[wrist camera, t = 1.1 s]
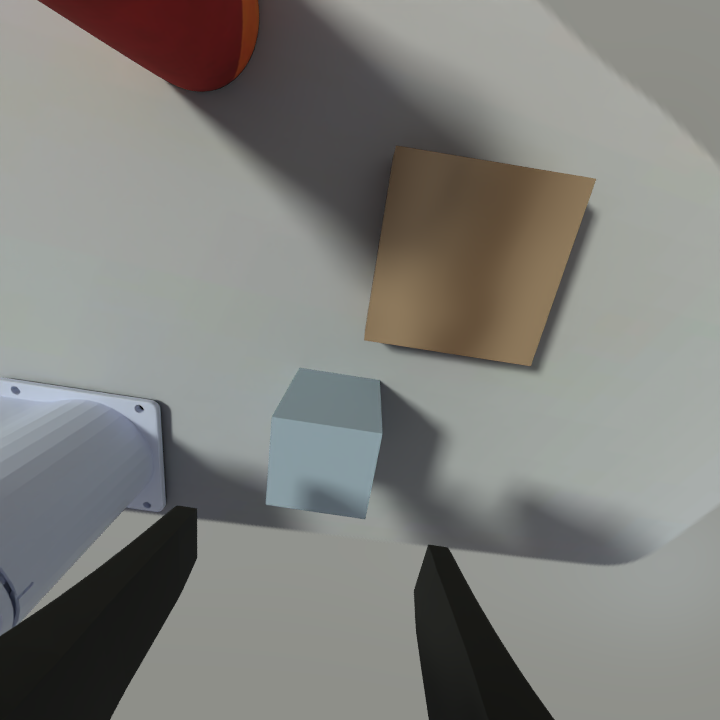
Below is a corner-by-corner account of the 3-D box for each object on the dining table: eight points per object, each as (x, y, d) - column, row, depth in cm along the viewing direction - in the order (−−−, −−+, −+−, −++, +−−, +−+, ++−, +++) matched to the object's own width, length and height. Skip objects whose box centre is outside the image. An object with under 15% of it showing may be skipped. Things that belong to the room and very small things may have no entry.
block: (292, 436, 20) (265, 504, 15) (299, 367, 19) (272, 417, 13) (366, 447, 20) (365, 519, 15) (379, 379, 19) (382, 433, 14)
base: (365, 329, 18) (364, 340, 16) (392, 157, 15) (396, 145, 13) (513, 352, 18) (530, 366, 16) (568, 186, 15) (596, 178, 13)
